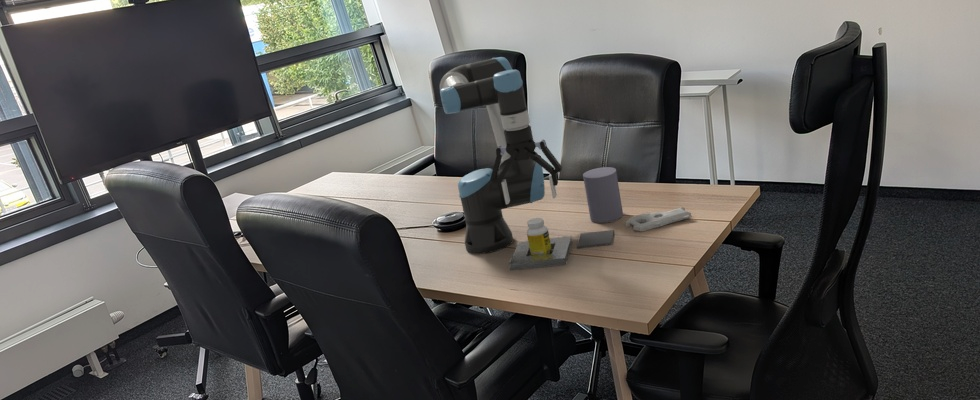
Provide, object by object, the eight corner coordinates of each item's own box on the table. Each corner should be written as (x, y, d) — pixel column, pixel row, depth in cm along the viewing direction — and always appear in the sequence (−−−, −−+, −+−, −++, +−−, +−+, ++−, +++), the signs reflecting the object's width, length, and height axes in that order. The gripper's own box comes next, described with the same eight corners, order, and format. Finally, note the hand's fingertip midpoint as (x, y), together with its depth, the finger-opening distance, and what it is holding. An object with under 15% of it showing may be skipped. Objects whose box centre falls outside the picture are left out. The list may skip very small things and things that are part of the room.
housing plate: (510, 270, 211) (509, 263, 210) (520, 248, 226) (519, 242, 225) (566, 264, 207) (564, 258, 206) (572, 242, 221) (571, 236, 221)
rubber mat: (577, 248, 216) (576, 246, 216) (580, 235, 225) (580, 233, 225) (611, 244, 214) (611, 242, 213) (613, 231, 223) (613, 229, 223)
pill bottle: (551, 259, 213) (544, 223, 209) (530, 261, 214) (523, 226, 211) (553, 250, 218) (547, 215, 215) (533, 253, 220) (526, 218, 217)
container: (584, 218, 239) (576, 174, 234) (612, 209, 242) (605, 165, 237) (601, 226, 229) (593, 180, 225) (629, 216, 232) (622, 170, 228)
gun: (679, 200, 227) (691, 210, 217) (681, 210, 228) (693, 221, 218) (622, 216, 227) (631, 227, 217) (624, 227, 228) (634, 238, 218)
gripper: (470, 137, 205) (486, 209, 211) (559, 123, 198) (573, 198, 204) (476, 130, 211) (491, 200, 218) (563, 117, 205) (576, 189, 211)
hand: (531, 199), depth 211 cm, fingers open, 13 cm apart
